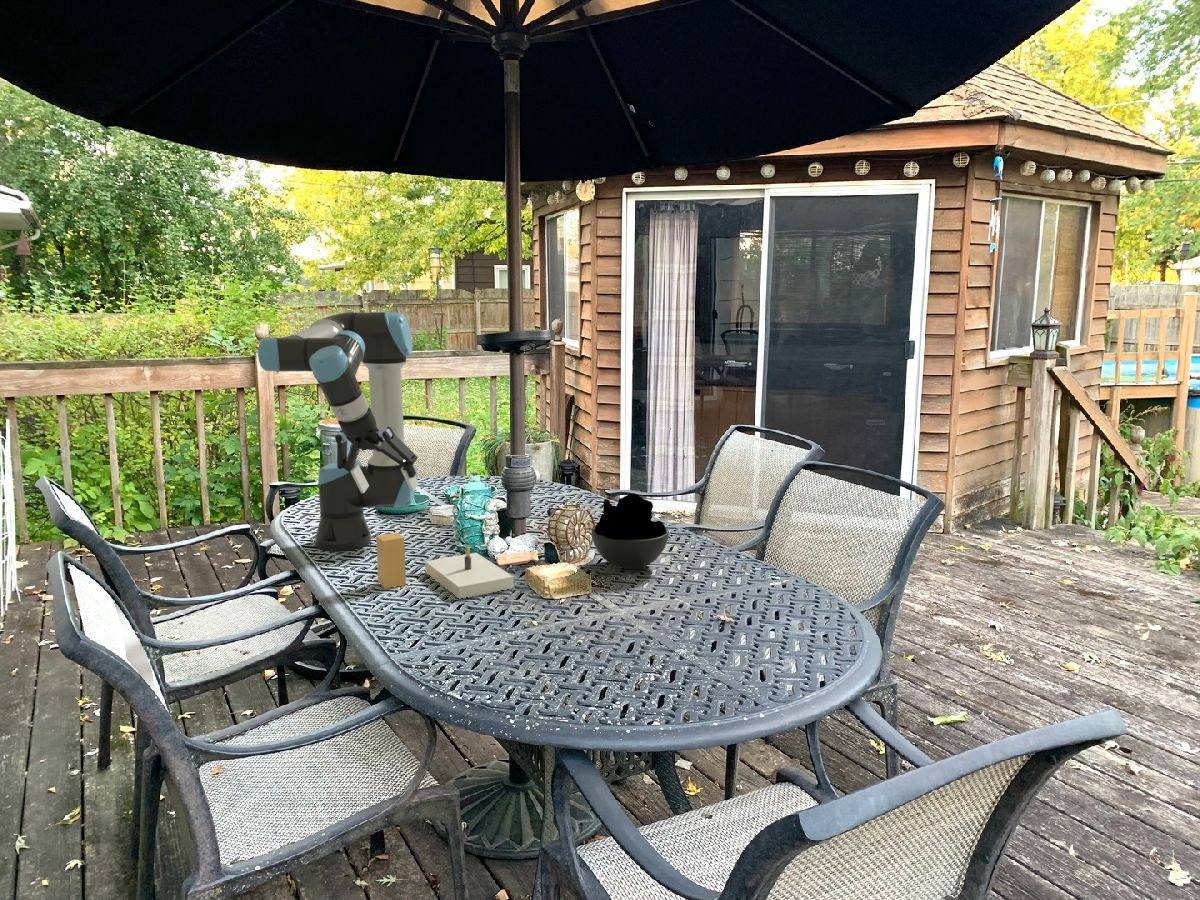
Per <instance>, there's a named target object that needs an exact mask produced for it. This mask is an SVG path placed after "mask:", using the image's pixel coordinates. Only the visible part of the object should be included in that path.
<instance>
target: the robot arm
mask: <svg viewBox="0 0 1200 900" xmlns="http://www.w3.org/2000/svg"><path fill="white" fill-rule="evenodd" d="M410 329H411V328H410V326H409V322H408V320H407V318H406V317H405V315H403V314H402V313H399V312H388V311H385V312H384V311H383V312H380V311H379V312H378V311H377V312H375V311H374V312H373V311H372V312H369V311H368V312H358V311H357V312H355V311H354V312H353V311H351V312H348V311H347V312H340V313H335V314H334V315H333V314H332V315H329V316H326V317H323V318H319V319H318V320H315V321H314V322H313V323H311V325H310V326H309V327H308V328H306V329H304V330H300V331H298V332H296V333H292V334H290V335H287V336H283V337H276V336H273V337H264V338H262V339H261V340H260V341H259V344H258V348H257V357H258V363H259V365H260V367H261V369H262V370H264V371H265V372H275V373H280V372H282V373H283V372H310V373H311V372H312V374H313V377H314V379H315V380H316V381H317V383H318V385H319V387H320V388H321V391H322V393H323V395H324V397H325V399H326V401H327V403H328V405H329V407H330V409H331V411H332V413H333V415H334V416H335V419H336V420H337V423H338V425H339V428H340V430H339V431H338V432H337V434H336V435H335V437H334V440H335V442H336V446H337V449H336V450H337V451H336V453H337V455H336V457H337V458H336V459H337V460H336V461H337V462H331V463H328V464H326V465H323V466H322V467H321V468H320V469H318V470H319V471H318V476H317V477H318V482H317V486H318V497H319V498H318V499H319V500H318V501H319V513H320V514H319V515H320V517H319V518H320V520H319V523H318V526H317V530H316V532H315V533H316V534H315V537H314V543H315V547H316V548H317V549H320V550H324V551H333V552H334V551H335V552H336V551H337V552H340V551H341V552H342V551H350V550H351V551H352V550H355V549H360V548H364V547H366V546H368V545H370V544H371V543H372V534H371V530H370V527H369V526H368V523H367V521H366V519H365V516H364V509H366V508H369V509H371V508H372V509H374V508H380V509H381V508H383V509H385V508H393V509H397V508H407V507H409V506H410V505H411V504H412V503H413V501H414V497H415V494H416V489H417V487H418V486H419V481H418V468H417V466H416V465H414V464H415V462H416V461H417V459H418V456H417V454H415V453H414V451H413V450H412V449H410V448H409V446H407V445H406V443H405V433H404V412H403V410H404V408H403V387H402V368H403V367H404V365H406V364H407V357H410V356H412V354H413V341H412V334H411V330H410ZM361 364H362V365H364V366H365V367H366V368H367V369H368V382H369V383H368V384H369V402H368V401H367V398H366V396H365V394H364V392H363V391H362V388H361V385H360V384H359V381H358V379H357V377H356V374H357V372H358V369H359V367H360V365H361ZM369 403H370V404H369ZM369 406H370V407H369ZM348 441H349V442H350V443H351V444H352V446H351V449H350V453H349V456H348ZM360 450H361V451H368V450H369V451H372V456H370V458H369V459H368V460H367V466H365V465H363V464H362V461H360V460H358V459H357V457H359V456H358V455H359V454H360Z"/></svg>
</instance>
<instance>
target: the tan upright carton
mask: <svg viewBox="0 0 1200 900" xmlns="http://www.w3.org/2000/svg"><path fill="white" fill-rule="evenodd" d="M375 539H376V561H377V580H378V581H377V582H379V583H380V584H381V585H382V586H383V587H384V588H389V587H394V586H400V587H402V586H401V585H405V586H407V584H406V583H407V578H406V554H405V553H406V550H405V549H406V548H405V547H406V546H405V537H404V536H403V535H401V534H400V533H399V532H393V533H386V534H385V533H384V534H377V535H376V536H375ZM379 583H378V584H379ZM380 584H379V585H380ZM381 585H380V586H381ZM382 586H381V587H382ZM383 587H382V588H383ZM384 588H383V589H384ZM394 588H395V587H394ZM389 589H390V588H389Z"/></svg>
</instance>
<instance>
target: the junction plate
mask: <svg viewBox="0 0 1200 900" xmlns="http://www.w3.org/2000/svg"><path fill="white" fill-rule="evenodd" d="M470 551H471V547H470V546H466V547H465V554H459V555H455V556H448V557H442V558H438V559H436V558H435V559H431V560H425V563H424V564H425V567H424V568H425V573H426V574H427V575H428V576H429V575H430V576H431V577H430V576H429V577H430V578H432V579H433V580H434V579H435V580H434V581H435V582H436V583H438V582H439V583H440V584H439V583H438V584H439V585H441V586H442V587H443V586H444V587H445V589H446V590H447V589H448V590H449V591H450V592H449V591H448V590H447V591H448V592H449V593H451V592H452V593H453V594H454V595H455V596H454V595H453V594H452V593H451V594H452V595H453V596H454V597H455V598H457V599H458V598H459V599H458V600H460V599H461V598H463V599H467V598H466V597H468V598H472V596H473V597H477V596H478V597H479V596H482V595H488V594H493V592H494V593H498V592H497V591H499V592H502V591H501V590H504V591H508V590H507V589H509V590H513V589H512V588H514V586H515V585H514V584H515V583H514V576H513V575H512V574H510V573H509V572H507V571H506V570H504V569H503V568H501V567H500V566H498V565H496V564H494V563H493V562H492V561H490V560H488V559H487V558H485V557H484V556H482V555H481V554H479V553H478V552H474V553H471V552H470ZM444 587H443V588H444ZM461 600H462V599H461Z"/></svg>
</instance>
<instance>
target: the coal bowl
mask: <svg viewBox="0 0 1200 900" xmlns="http://www.w3.org/2000/svg"><path fill="white" fill-rule="evenodd" d="M602 505H603V511H602V512H603V514H601V516H600V518H599V520H598V522H597V523H596V524H595V525H594V526H593V527H594V529H593V530H592V529H591V531H592V532H591V538H592V542H593V545H594V547H595V548H596V549H595V550H596V551H597V553H599V555H600V556H601V557H602V558H603V559H604V560H605V561H606V562H608V563H609V564H610V565H612V566H615V567H617V568H619V569H620V568H621V569H623V570H624V569H625V570H636V569H640V568H643V567H646V566H648V565H650V564H652V563H653V562H655V561H656V560H657V559H658V558H659V557H660V556H661V555H662V553H663V551H664V550H665V549H666V546H667V544H668V540H669V535H670V531H669V529H668V527H666V525H665V524H664V522H662V521H661V520H657V521H653V520H652V518H653V512H652V511H653V508H654V503H653V502H652V501H651V500H648V499H645V498H643V497H642V496H641V495H639V494H636V493H628V494H627V495H625V496H623V497H620V498H618V503H617V504H616V505H613V504H611V501H610V499H608V498H604V499H603V503H602Z"/></svg>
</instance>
